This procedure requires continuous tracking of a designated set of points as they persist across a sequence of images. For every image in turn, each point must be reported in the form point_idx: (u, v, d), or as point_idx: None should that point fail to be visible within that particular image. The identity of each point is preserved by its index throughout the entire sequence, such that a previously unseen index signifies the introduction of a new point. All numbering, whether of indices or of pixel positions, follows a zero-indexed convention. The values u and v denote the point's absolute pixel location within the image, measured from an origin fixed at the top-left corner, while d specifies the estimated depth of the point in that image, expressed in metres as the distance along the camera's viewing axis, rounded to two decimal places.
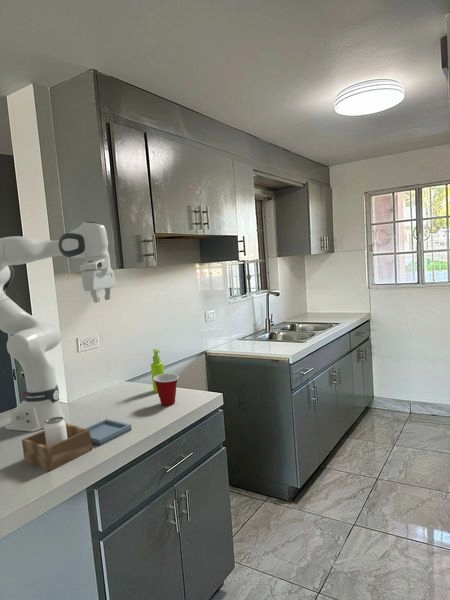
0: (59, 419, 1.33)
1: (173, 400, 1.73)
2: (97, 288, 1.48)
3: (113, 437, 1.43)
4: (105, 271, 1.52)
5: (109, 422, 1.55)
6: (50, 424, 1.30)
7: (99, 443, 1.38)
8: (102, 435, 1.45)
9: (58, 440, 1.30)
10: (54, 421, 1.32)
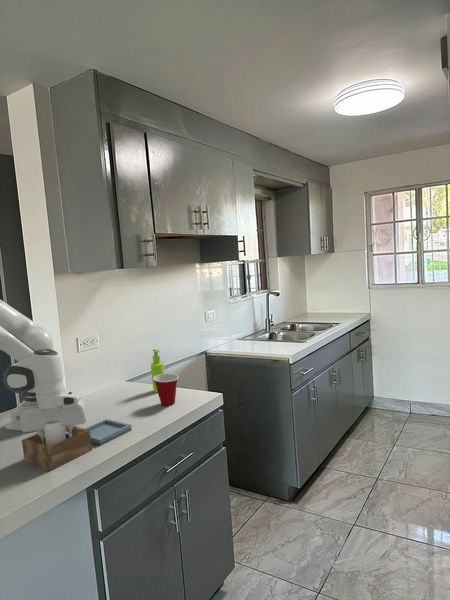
0: None
1: (173, 400, 1.73)
2: None
3: (113, 437, 1.43)
4: None
5: (109, 422, 1.55)
6: (50, 424, 1.30)
7: (99, 443, 1.38)
8: (102, 435, 1.45)
9: (58, 440, 1.30)
10: None
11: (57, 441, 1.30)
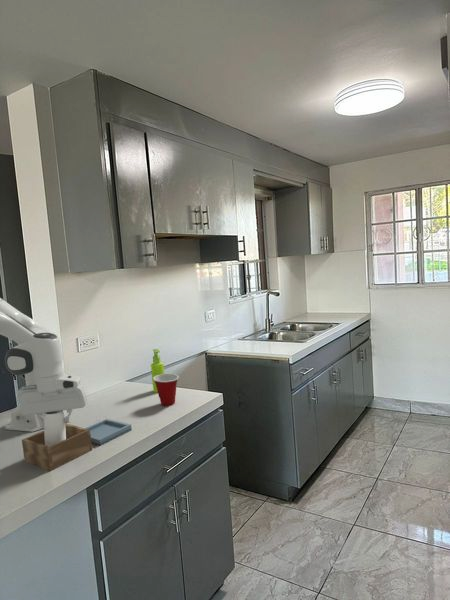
0: None
1: (173, 400, 1.73)
2: None
3: (113, 437, 1.43)
4: None
5: (109, 422, 1.55)
6: (49, 414, 1.30)
7: (99, 443, 1.38)
8: (102, 435, 1.45)
9: (56, 431, 1.30)
10: (53, 412, 1.32)
11: (55, 432, 1.30)
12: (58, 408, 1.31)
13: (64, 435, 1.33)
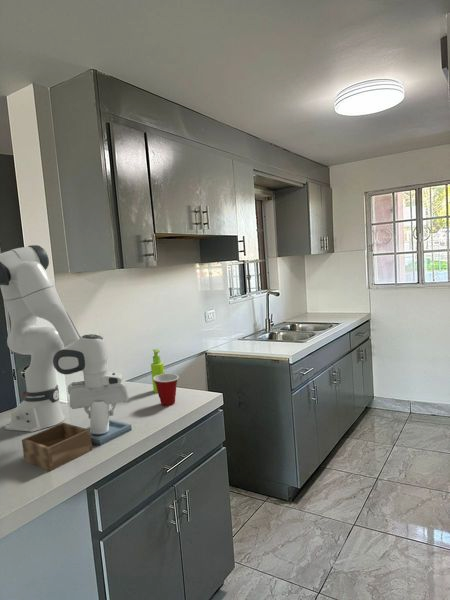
0: None
1: (173, 400, 1.73)
2: None
3: (113, 437, 1.43)
4: None
5: (109, 422, 1.55)
6: (96, 402, 1.44)
7: (99, 443, 1.38)
8: (102, 435, 1.45)
9: (101, 417, 1.44)
10: None
11: (101, 418, 1.44)
12: None
13: (108, 421, 1.47)
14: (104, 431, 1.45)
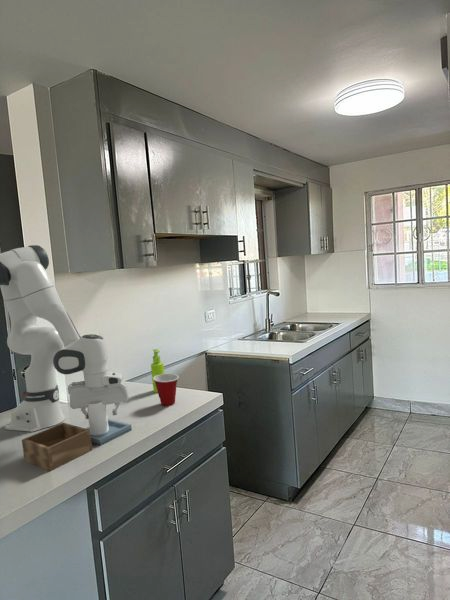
0: None
1: (173, 400, 1.73)
2: None
3: (113, 437, 1.43)
4: None
5: (109, 422, 1.55)
6: (92, 404, 1.44)
7: (99, 443, 1.38)
8: (102, 435, 1.45)
9: (99, 418, 1.44)
10: None
11: (99, 419, 1.44)
12: (104, 402, 1.45)
13: (106, 422, 1.47)
14: (104, 432, 1.45)
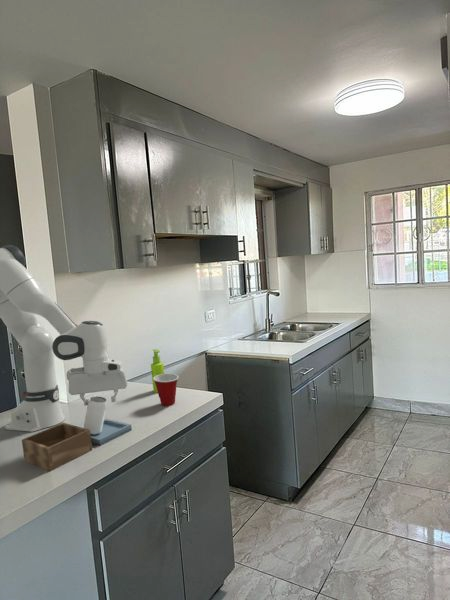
0: (102, 399, 1.47)
1: (173, 400, 1.73)
2: None
3: (113, 437, 1.43)
4: None
5: (109, 422, 1.55)
6: (95, 402, 1.44)
7: (99, 443, 1.38)
8: (102, 435, 1.45)
9: (97, 418, 1.44)
10: (98, 400, 1.46)
11: (96, 419, 1.44)
12: (103, 388, 1.45)
13: (102, 423, 1.46)
14: (97, 432, 1.45)
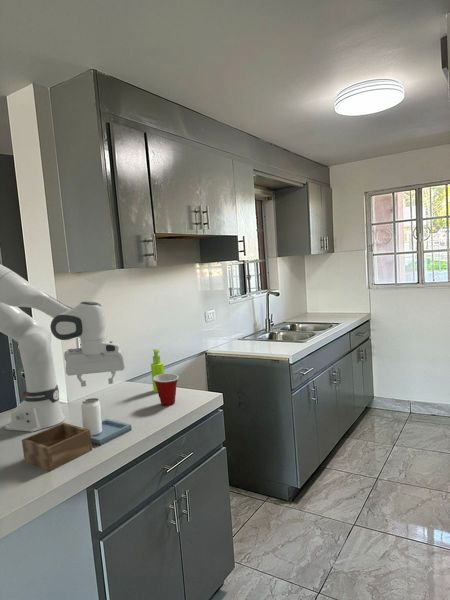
0: (95, 400, 1.47)
1: (173, 400, 1.73)
2: None
3: (113, 437, 1.43)
4: None
5: (109, 422, 1.55)
6: (87, 403, 1.44)
7: (99, 443, 1.38)
8: (102, 435, 1.45)
9: (93, 418, 1.44)
10: (90, 401, 1.46)
11: (92, 419, 1.44)
12: (100, 370, 1.44)
13: (100, 422, 1.46)
14: (97, 432, 1.45)
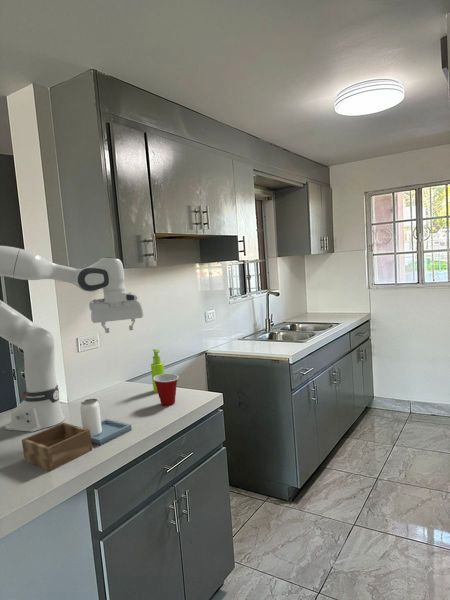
0: (93, 401, 1.47)
1: (173, 400, 1.73)
2: None
3: (113, 437, 1.43)
4: None
5: (109, 422, 1.55)
6: (86, 405, 1.43)
7: (99, 443, 1.38)
8: (102, 435, 1.45)
9: (92, 419, 1.44)
10: (89, 402, 1.45)
11: (92, 420, 1.44)
12: (121, 317, 1.62)
13: (100, 423, 1.46)
14: (97, 432, 1.45)
